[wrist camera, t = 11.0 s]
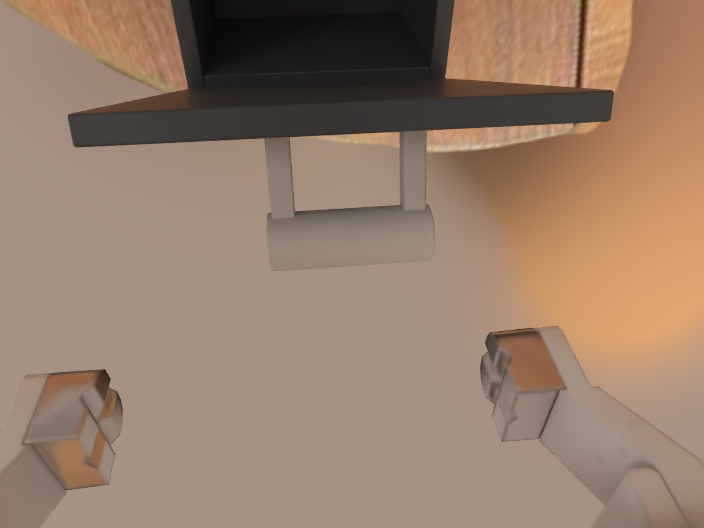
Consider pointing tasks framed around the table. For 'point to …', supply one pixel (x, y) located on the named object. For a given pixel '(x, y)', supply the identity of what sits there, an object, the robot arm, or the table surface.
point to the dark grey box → (311, 41)
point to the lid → (335, 119)
